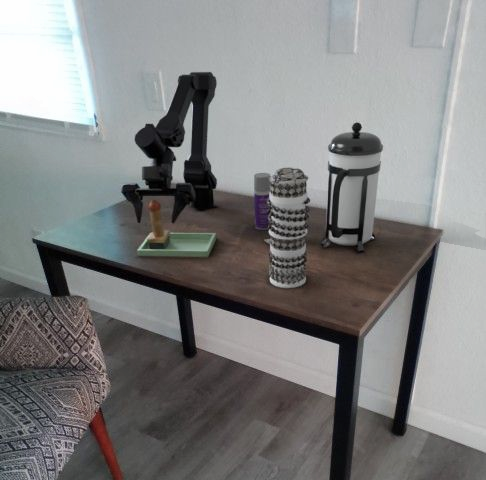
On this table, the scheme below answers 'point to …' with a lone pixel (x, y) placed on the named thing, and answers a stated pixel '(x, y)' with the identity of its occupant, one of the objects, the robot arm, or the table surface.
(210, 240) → the tray
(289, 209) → the decorative candle
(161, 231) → the wooden rubber stamp
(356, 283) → the table surface
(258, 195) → the container
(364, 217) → the coffee press
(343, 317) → the table surface
